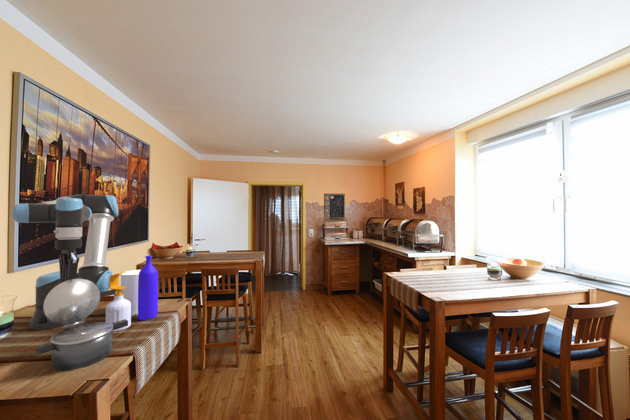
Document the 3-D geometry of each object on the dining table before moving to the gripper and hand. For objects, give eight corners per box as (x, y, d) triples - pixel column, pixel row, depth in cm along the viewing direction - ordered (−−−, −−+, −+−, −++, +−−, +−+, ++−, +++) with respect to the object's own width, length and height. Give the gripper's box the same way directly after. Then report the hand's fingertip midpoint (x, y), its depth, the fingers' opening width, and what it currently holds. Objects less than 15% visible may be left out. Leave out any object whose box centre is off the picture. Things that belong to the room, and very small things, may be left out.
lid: (44, 334, 91) (42, 333, 92) (116, 313, 109) (114, 313, 110) (43, 284, 92) (41, 283, 93) (115, 272, 110) (113, 272, 111)
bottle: (154, 312, 135) (154, 254, 135) (160, 316, 130) (161, 255, 130) (135, 317, 129) (135, 256, 129) (141, 322, 123) (142, 257, 124)
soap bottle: (117, 333, 112) (118, 275, 113) (100, 331, 114) (100, 274, 114) (135, 324, 121) (136, 270, 121) (119, 322, 123) (119, 269, 123)
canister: (118, 309, 139) (119, 271, 139) (148, 304, 148) (149, 268, 148) (122, 317, 129) (122, 276, 129) (154, 310, 138) (154, 272, 138)
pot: (29, 366, 88) (29, 339, 88) (116, 336, 109) (116, 314, 109) (46, 382, 79) (47, 352, 79) (137, 346, 101) (137, 323, 101)
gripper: (49, 238, 101) (48, 300, 101) (62, 240, 95) (60, 306, 94) (74, 237, 108) (73, 295, 107) (88, 238, 101) (87, 300, 101)
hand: (67, 300), depth 101 cm, fingers closed
